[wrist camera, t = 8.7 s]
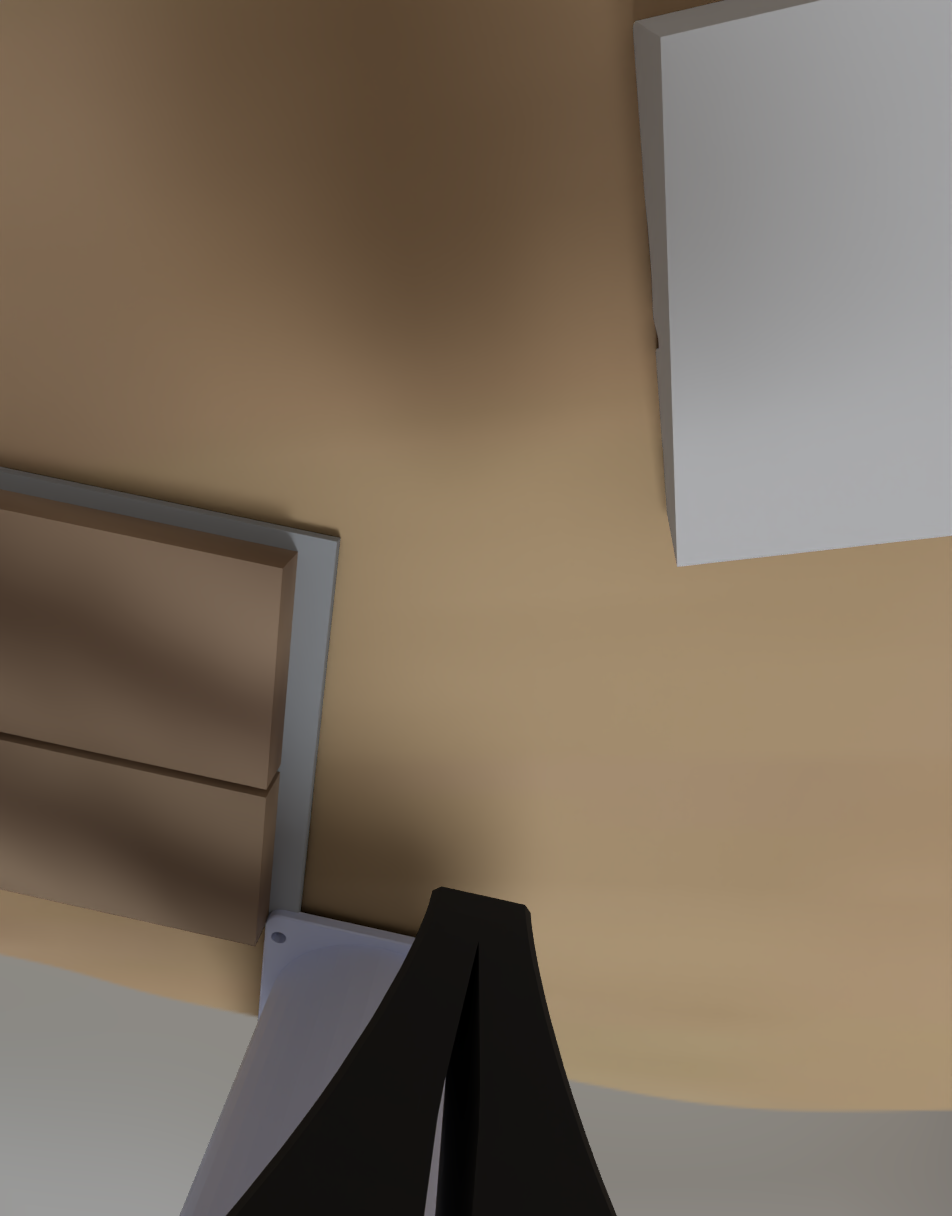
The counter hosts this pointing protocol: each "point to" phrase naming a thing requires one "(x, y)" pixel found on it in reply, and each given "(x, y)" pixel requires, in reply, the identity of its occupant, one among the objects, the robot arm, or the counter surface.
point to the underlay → (305, 647)
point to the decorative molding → (800, 271)
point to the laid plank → (136, 839)
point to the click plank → (144, 639)
